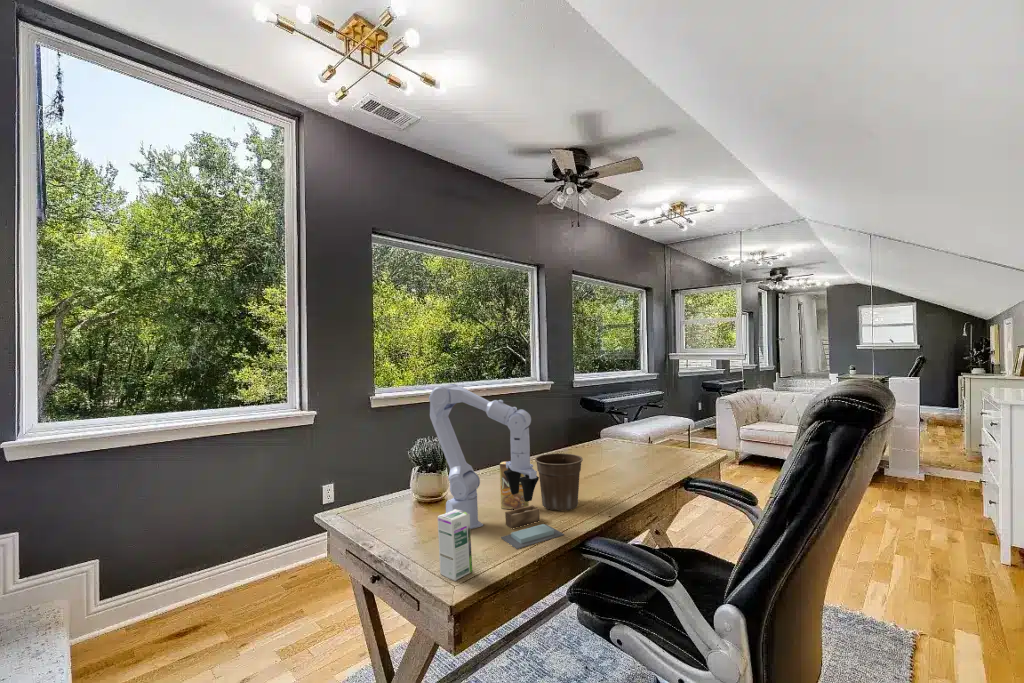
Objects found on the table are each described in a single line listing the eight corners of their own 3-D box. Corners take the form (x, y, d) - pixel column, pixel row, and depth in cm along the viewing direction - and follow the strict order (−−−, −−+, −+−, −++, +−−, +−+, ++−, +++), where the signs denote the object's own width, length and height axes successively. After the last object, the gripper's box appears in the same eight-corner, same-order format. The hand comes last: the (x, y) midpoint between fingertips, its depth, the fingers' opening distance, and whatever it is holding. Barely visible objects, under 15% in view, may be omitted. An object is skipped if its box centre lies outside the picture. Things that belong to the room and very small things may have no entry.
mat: (516, 549, 123) (516, 548, 123) (500, 538, 131) (500, 537, 131) (564, 535, 132) (564, 534, 132) (546, 525, 139) (546, 524, 139)
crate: (512, 529, 137) (511, 515, 137) (505, 524, 141) (505, 511, 141) (539, 521, 142) (539, 508, 142) (532, 517, 146) (532, 505, 146)
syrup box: (455, 581, 107) (453, 520, 108) (439, 574, 111) (437, 514, 111) (472, 572, 112) (470, 512, 112) (456, 565, 116) (454, 507, 116)
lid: (520, 543, 126) (520, 539, 126) (511, 536, 131) (511, 532, 131) (554, 534, 132) (553, 529, 132) (543, 527, 136) (543, 523, 136)
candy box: (500, 508, 155) (498, 463, 155) (505, 504, 159) (503, 460, 159) (525, 511, 152) (523, 465, 152) (529, 507, 155) (527, 462, 156)
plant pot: (562, 494, 168) (560, 450, 168) (594, 505, 155) (592, 458, 155) (527, 504, 158) (525, 458, 158) (558, 517, 145) (556, 467, 145)
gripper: (545, 454, 132) (546, 501, 131) (519, 445, 144) (520, 488, 144) (524, 457, 128) (525, 506, 128) (499, 448, 141) (500, 492, 140)
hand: (521, 497), depth 136 cm, fingers open, 7 cm apart
